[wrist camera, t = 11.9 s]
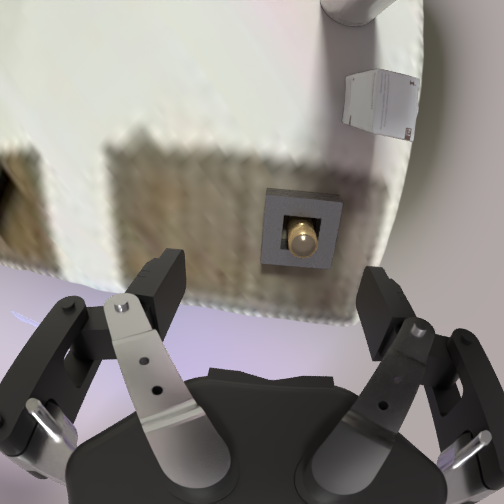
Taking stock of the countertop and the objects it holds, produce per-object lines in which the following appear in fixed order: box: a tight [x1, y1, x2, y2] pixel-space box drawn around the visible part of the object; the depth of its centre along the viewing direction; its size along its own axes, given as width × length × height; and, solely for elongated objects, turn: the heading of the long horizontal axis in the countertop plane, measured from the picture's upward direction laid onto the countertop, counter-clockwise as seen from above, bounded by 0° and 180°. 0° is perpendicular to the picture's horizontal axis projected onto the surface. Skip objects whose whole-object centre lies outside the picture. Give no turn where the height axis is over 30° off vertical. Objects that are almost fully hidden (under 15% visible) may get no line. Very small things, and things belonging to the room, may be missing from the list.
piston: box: [287, 216, 318, 258], centre depth 46 cm, size 4×4×8 cm
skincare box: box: [342, 69, 420, 142], centre depth 33 cm, size 8×6×15 cm
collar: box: [261, 188, 343, 269], centre depth 48 cm, size 12×12×4 cm
